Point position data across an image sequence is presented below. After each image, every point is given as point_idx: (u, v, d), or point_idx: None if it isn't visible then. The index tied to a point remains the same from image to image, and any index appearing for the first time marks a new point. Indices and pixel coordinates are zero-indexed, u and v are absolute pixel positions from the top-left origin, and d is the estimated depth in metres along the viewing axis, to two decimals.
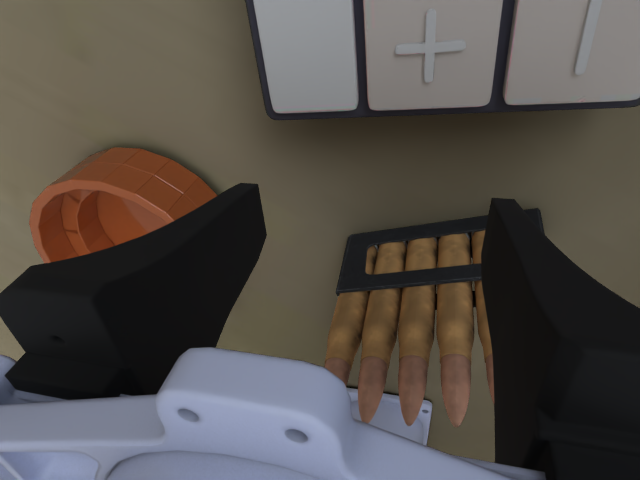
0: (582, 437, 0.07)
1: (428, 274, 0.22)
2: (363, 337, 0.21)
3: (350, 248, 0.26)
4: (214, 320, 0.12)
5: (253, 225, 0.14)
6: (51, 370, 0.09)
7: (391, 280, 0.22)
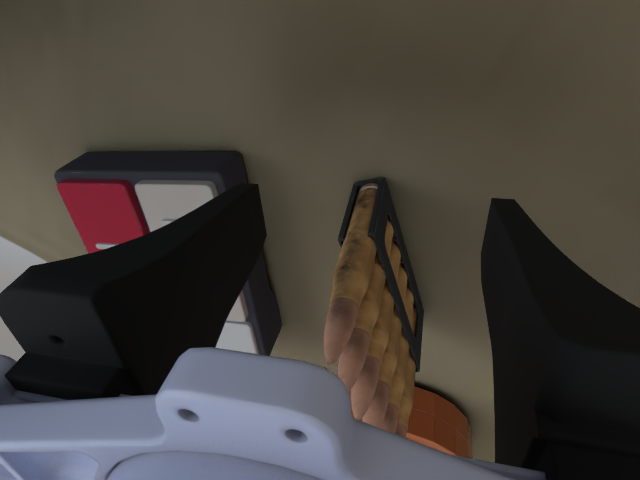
0: (582, 437, 0.07)
1: None
2: None
3: None
4: (214, 320, 0.12)
5: (253, 225, 0.14)
6: (51, 370, 0.09)
7: None
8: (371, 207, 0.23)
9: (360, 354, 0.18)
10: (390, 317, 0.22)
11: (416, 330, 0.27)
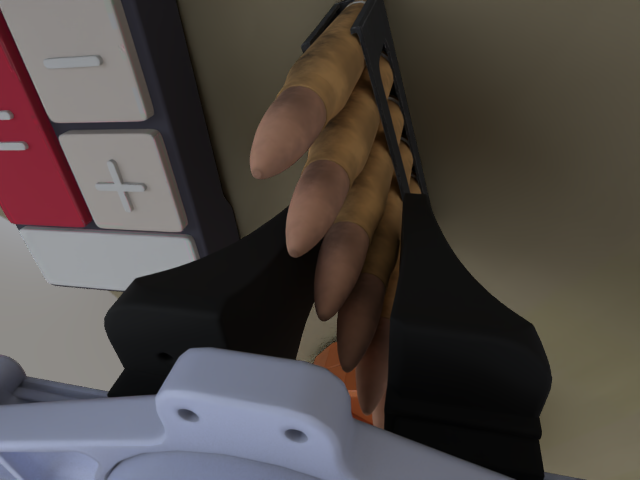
0: (423, 411, 0.07)
1: None
2: None
3: None
4: (296, 331, 0.12)
5: None
6: (156, 389, 0.08)
7: None
8: (358, 14, 0.14)
9: (329, 195, 0.10)
10: (387, 181, 0.13)
11: None
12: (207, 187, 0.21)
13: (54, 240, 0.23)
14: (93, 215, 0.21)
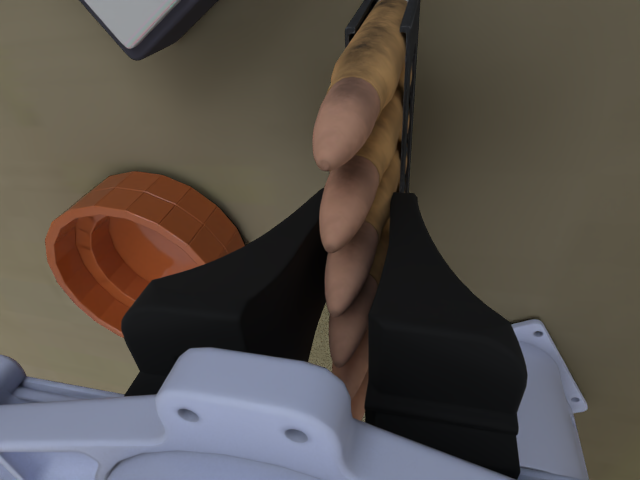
0: (403, 407, 0.07)
1: None
2: None
3: None
4: (308, 333, 0.12)
5: None
6: None
7: None
8: (400, 10, 0.14)
9: (366, 195, 0.09)
10: (396, 185, 0.14)
11: None
12: None
13: None
14: None
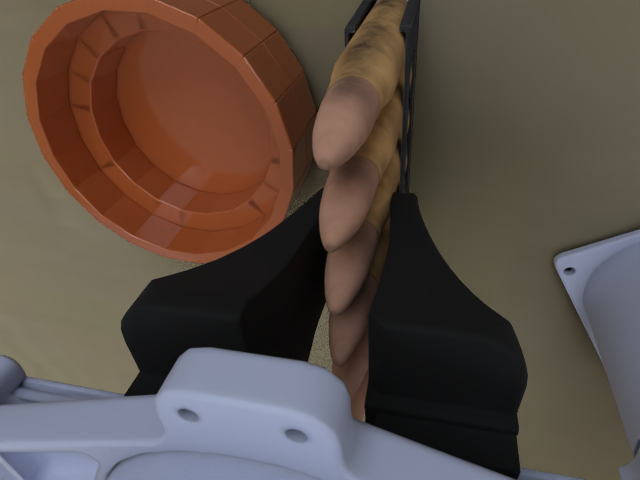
0: (403, 407, 0.07)
1: None
2: None
3: None
4: (308, 333, 0.12)
5: None
6: None
7: None
8: (400, 9, 0.14)
9: (366, 194, 0.09)
10: (396, 184, 0.14)
11: None
12: None
13: None
14: None
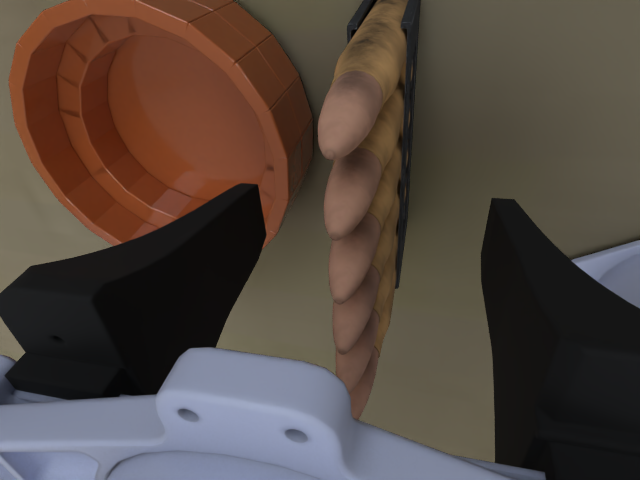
0: (582, 437, 0.07)
1: None
2: None
3: None
4: (214, 320, 0.12)
5: (253, 225, 0.14)
6: (51, 370, 0.09)
7: None
8: (401, 7, 0.14)
9: (369, 185, 0.10)
10: (397, 178, 0.14)
11: (403, 235, 0.19)
12: None
13: None
14: None
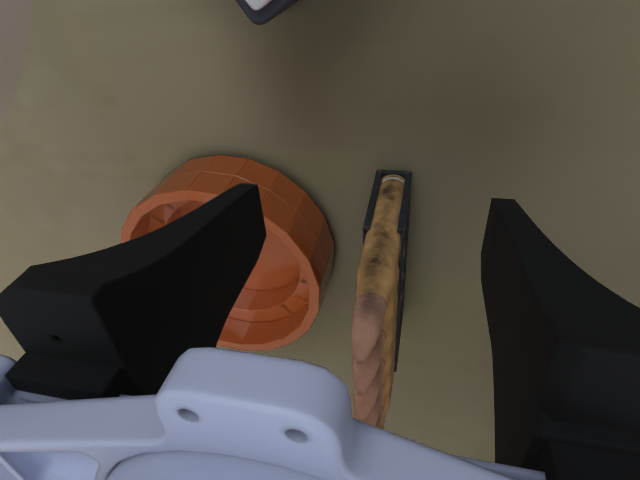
0: (582, 437, 0.07)
1: None
2: None
3: None
4: (214, 320, 0.12)
5: (253, 225, 0.14)
6: (51, 370, 0.09)
7: None
8: (398, 200, 0.22)
9: (378, 355, 0.17)
10: (395, 317, 0.21)
11: (399, 330, 0.27)
12: None
13: None
14: None
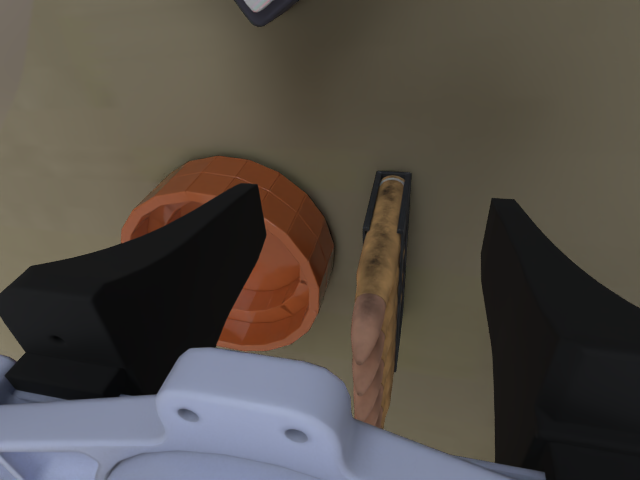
0: (582, 437, 0.07)
1: None
2: None
3: None
4: (214, 320, 0.12)
5: (253, 225, 0.14)
6: (51, 370, 0.09)
7: None
8: (397, 201, 0.22)
9: (378, 356, 0.17)
10: (395, 318, 0.21)
11: (399, 331, 0.27)
12: None
13: None
14: None
